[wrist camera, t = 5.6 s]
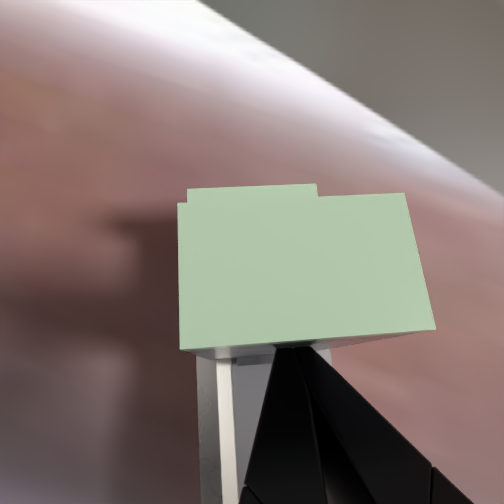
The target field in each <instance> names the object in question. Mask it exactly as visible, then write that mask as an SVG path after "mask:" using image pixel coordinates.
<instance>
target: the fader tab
mask: <svg viewBox="0 0 504 504" xmlns="http://www.w3.org/2000/svg"><path fill="white" fill-rule="evenodd" d="M177 207H178V268H179V330H180V350H183V351H186V352H188V353H191V354H194V355H197V356H200V357H202V358H205V359H208V360H210V359H222V358H235V357H236V358H237V366H246V365H258V364H270V363H272V362H273V358H274V354H275V350H276V349H277V348H289V347H292V348H294V347H302V346H310V347H312V348H313V349H314V350H315V351H320V350H326V349H331V348H337V347H342V346H348V345H353V344H359V343H364V342H370V341H375V340H381V339H386V338H392V337H397V336H403V335H408V334H414V333H419V332H425V331H430V330H436V327H435V322H434V318H433V314H432V309H431V305H430V301H429V297H428V292H427V288H426V284H425V280H424V275H423V271H422V267H421V263H420V258H419V254H418V250H417V245H416V241H415V237H414V233H413V228H412V224H411V220H410V216H409V211H408V207H407V203H406V199H405V194H404V193H390V194H367V195H345V196H323V197H300V198H278V199H256V200H233V201H211V202H189V203H177Z"/></svg>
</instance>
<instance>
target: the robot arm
mask: <svg viewBox="0 0 504 504" xmlns="http://www.w3.org/2000/svg"><path fill="white" fill-rule="evenodd" d="M239 504H474V503H473V502H472V501H471V500H470V499H468V498H467V497H466V496H465V495H464V494H463V493H462V492H461V491H460V490H459V489H458V488H457V487H456V486H455V485H453V484H452V483H451V482H450V481H449V480H448V479H447V478H446V477H445V476H444V475H443V474H442V473H441V472H440V471H439V470H438V469H437V468H436V467H432V464H431V462H430V461H429V460H427V459H426V458H425V457H424V456H423V455H422V454H421V453H420V452H419V451H418V450H417V449H416V448H415V447H414V446H413V445H412V444H411V443H410V442H409V441H408V440H407V439H406V438H405V437H404V436H403V435H402V434H401V433H400V432H399V431H398V430H397V429H396V428H395V427H394V426H393V425H391V424H390V423H389V422H388V421H387V420H386V419H385V418H384V417H383V416H382V415H381V414H380V413H379V412H378V411H377V410H376V409H375V408H374V407H373V406H372V405H371V404H370V403H369V402H368V401H367V400H366V399H365V398H364V397H363V396H362V395H361V394H360V393H359V392H358V391H357V390H355V389H354V388H353V387H352V386H351V385H350V384H349V383H348V382H347V381H346V380H345V379H344V378H343V377H342V376H341V375H340V374H339V373H338V372H337V371H336V370H335V369H334V368H333V367H332V366H331V365H330V364H329V363H328V362H327V361H326V360H325V359H324V358H323V357H322V356H320V355H319V354H318V353H317V352H316V351H315V350H314V349H313V348H312V347H310V346H302V347H294V348H292V347H289V348H277V349H276V350H275V354H274V358H273V362H272V366H271V371H270V375H269V379H268V383H267V387H266V392H265V396H264V400H263V404H262V408H261V412H260V417H259V421H258V425H257V429H256V433H255V438H254V442H253V446H252V450H251V454H250V458H249V463H248V467H247V471H246V475H245V479H244V487H243V488H242V491H241V495H240V499H239Z"/></svg>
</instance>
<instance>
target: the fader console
mask: <svg viewBox="0 0 504 504" xmlns="http://www.w3.org/2000/svg"><path fill="white" fill-rule="evenodd" d="M300 197H318V193H317V187H316V184H296V185H271V186H247V187H223V188H199V189H187V203H189V202H211V201H233V200H256V199H278V198H300ZM316 352H317V353H318V354H319V355H320V356H322V357H323V358H324V359H325V360H326V361H327V362H328V363H329V364H330V365H331V366H332V362H331V355H330V349H326V350H320V351H316ZM196 365H197V398H198V432H199V465H200V499H201V504H239V499H240V495H241V491H242V488H243V487H244V479H245V475H246V471H247V467H248V463H249V458H250V454H251V450H252V446H253V442H254V438H255V433H256V429H257V425H258V421H259V417H260V412H261V408H262V404H263V400H264V396H265V392H266V387H267V383H268V379H269V375H270V371H271V366H272V363H270V364H258V365H246V366H237V358H236V357H235V358H222V359H210V360H208V359H205V358H202V357H200V356H197V355H196Z"/></svg>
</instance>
